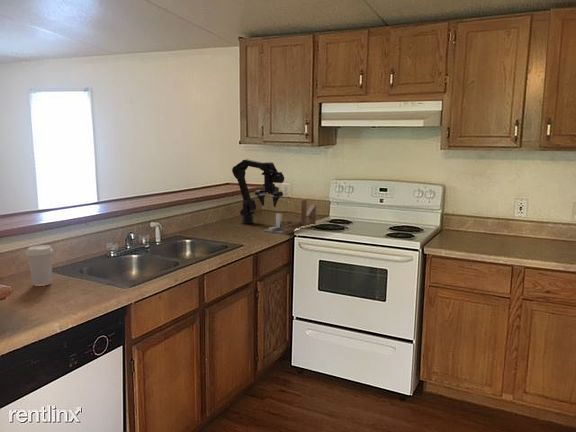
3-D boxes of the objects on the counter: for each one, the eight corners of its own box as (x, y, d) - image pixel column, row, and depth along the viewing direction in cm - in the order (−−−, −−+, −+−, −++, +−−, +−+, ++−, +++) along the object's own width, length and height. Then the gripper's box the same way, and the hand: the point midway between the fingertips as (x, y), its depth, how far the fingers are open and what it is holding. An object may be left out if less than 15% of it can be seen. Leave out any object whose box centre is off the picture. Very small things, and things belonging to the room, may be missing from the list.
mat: (263, 231, 295) (263, 230, 295) (280, 226, 310) (280, 225, 310) (284, 234, 286) (284, 233, 286) (301, 229, 301) (301, 228, 301)
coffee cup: (23, 286, 188) (19, 249, 185) (43, 279, 197) (40, 244, 194) (41, 289, 185) (38, 251, 182) (61, 282, 193) (58, 245, 191)
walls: (263, 230, 295) (263, 223, 295) (280, 225, 310) (280, 219, 309) (284, 233, 286) (284, 226, 286) (301, 228, 301) (301, 222, 300)
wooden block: (315, 226, 311) (315, 199, 308) (303, 228, 304) (303, 200, 301) (311, 225, 314) (311, 198, 311) (299, 227, 307) (299, 199, 304)
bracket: (268, 230, 294) (268, 214, 292) (278, 228, 299) (277, 213, 297) (272, 231, 291) (272, 215, 289) (282, 229, 296) (282, 213, 294)
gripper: (287, 182, 308) (288, 206, 311) (264, 180, 318) (265, 203, 321) (277, 183, 299) (277, 208, 301) (254, 181, 309) (254, 205, 312)
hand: (268, 206), depth 309 cm, fingers open, 9 cm apart
